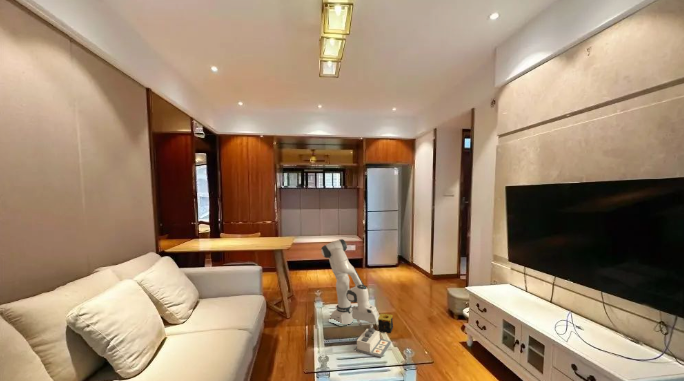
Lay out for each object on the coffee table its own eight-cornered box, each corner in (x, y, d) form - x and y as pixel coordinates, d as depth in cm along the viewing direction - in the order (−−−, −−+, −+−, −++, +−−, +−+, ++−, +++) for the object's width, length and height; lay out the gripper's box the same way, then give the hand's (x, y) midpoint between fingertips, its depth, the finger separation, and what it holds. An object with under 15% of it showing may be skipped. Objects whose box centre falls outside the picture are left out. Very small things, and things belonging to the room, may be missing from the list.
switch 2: (368, 338, 188) (368, 329, 188) (370, 335, 191) (370, 327, 191) (373, 339, 186) (372, 330, 186) (375, 336, 189) (374, 328, 189)
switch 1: (362, 348, 178) (361, 339, 178) (364, 345, 181) (363, 336, 181) (366, 349, 176) (366, 340, 176) (369, 346, 179) (368, 338, 179)
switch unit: (354, 350, 179) (353, 340, 179) (365, 336, 195) (365, 327, 195) (380, 358, 169) (380, 347, 169) (390, 342, 185) (390, 333, 185)
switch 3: (365, 342, 183) (364, 333, 183) (367, 339, 186) (366, 331, 186) (370, 343, 181) (369, 334, 181) (372, 340, 184) (371, 332, 184)
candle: (378, 332, 201) (377, 319, 201) (381, 325, 210) (380, 313, 211) (391, 333, 197) (390, 320, 197) (393, 327, 207) (392, 314, 207)
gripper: (349, 307, 193) (351, 325, 193) (374, 311, 183) (376, 331, 182) (353, 303, 199) (355, 321, 198) (378, 307, 188) (379, 326, 188)
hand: (365, 326), depth 190 cm, fingers open, 8 cm apart
